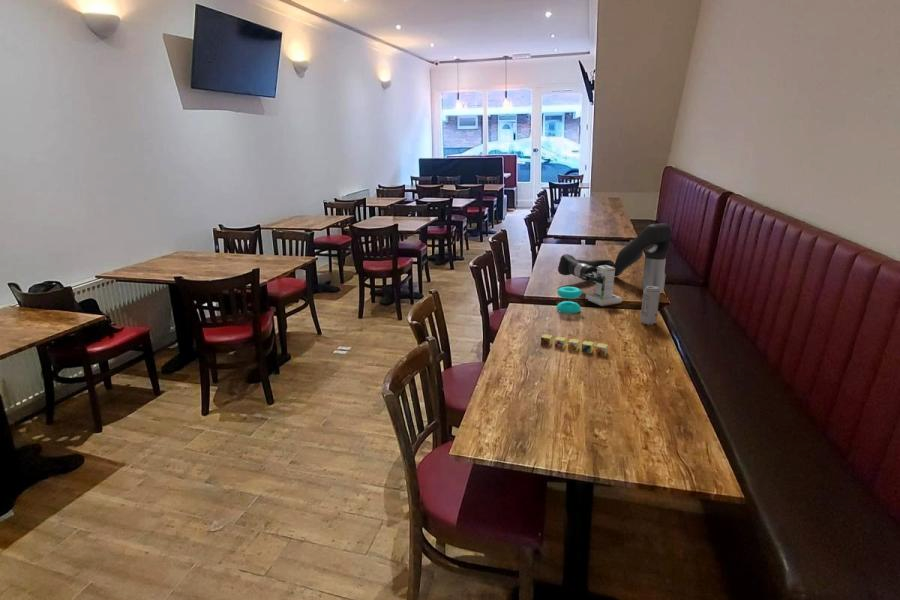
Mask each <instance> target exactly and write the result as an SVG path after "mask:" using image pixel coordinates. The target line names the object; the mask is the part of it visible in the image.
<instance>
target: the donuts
mask: <svg viewBox="0 0 900 600" xmlns="http://www.w3.org/2000/svg"><path fill="white" fill-rule="evenodd" d="M582 293H583V292H582V290H581V289H580V288H578V287H577V286H576V287H575V286H562V287H559V288H558V290H557V295H558V296H559V297H561V298H563V299H568V300H564V301H561V302H558V304H557V306H556V309H557V311H558V312H559V311H560V313H562V312H563V313H562V314H566V313H574V314H577V312H578V313H579V312H580V311H581V305H580V304H578V302H576V301H575V302H574V301H570V300H571V299H577V298H580V297H581V295H582Z"/></svg>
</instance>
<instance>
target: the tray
mask: <svg viewBox="0 0 900 600" xmlns="http://www.w3.org/2000/svg"><path fill="white" fill-rule="evenodd" d="M586 298H587V299H588V300H587V301H589V302H591V303H592V304H593V303H594V304H596V305H598V306H600V307H604V306H610V305H616V304H617V305H618V304H622V300H623V297H621V296H619V295H616V294H612V298H610V299H603V300H602V299H599V298H597V297H596V296H595V292H593V293H586V294H585V299H586Z"/></svg>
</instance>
